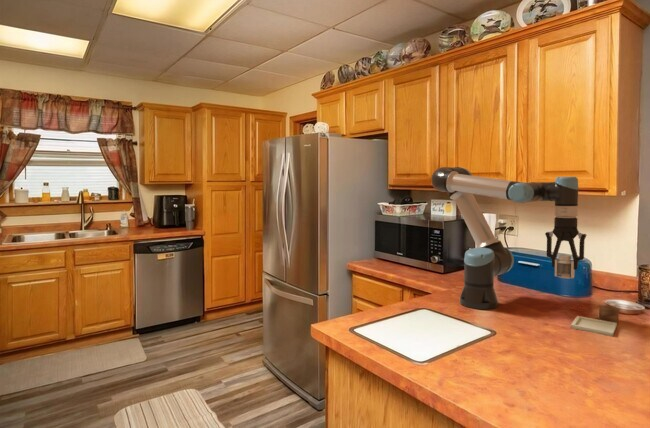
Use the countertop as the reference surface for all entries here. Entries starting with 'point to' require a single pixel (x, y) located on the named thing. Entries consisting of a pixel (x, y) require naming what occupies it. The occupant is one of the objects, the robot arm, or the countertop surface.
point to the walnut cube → (608, 313)
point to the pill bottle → (564, 267)
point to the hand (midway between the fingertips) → (564, 276)
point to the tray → (594, 325)
